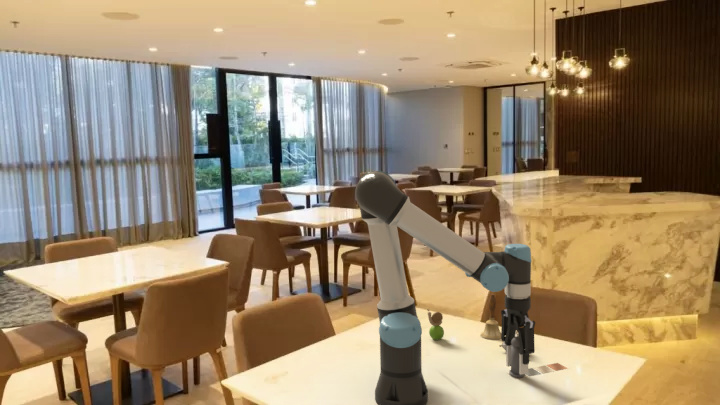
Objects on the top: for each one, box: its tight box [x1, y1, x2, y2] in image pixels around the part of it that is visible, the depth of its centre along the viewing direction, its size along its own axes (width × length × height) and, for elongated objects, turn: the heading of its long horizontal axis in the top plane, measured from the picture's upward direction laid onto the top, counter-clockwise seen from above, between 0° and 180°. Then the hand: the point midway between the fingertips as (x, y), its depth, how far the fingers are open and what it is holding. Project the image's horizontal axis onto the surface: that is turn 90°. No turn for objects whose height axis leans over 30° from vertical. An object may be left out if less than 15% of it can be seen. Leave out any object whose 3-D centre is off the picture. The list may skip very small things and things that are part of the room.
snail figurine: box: [427, 309, 445, 341], centre depth 199 cm, size 5×6×12 cm
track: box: [506, 362, 568, 380], centre depth 168 cm, size 21×7×1 cm, turn 110°
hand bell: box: [480, 293, 501, 341], centre depth 201 cm, size 8×8×16 cm
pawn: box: [508, 337, 526, 379], centre depth 165 cm, size 5×5×12 cm
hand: (517, 369), depth 165 cm, fingers open, 6 cm apart
